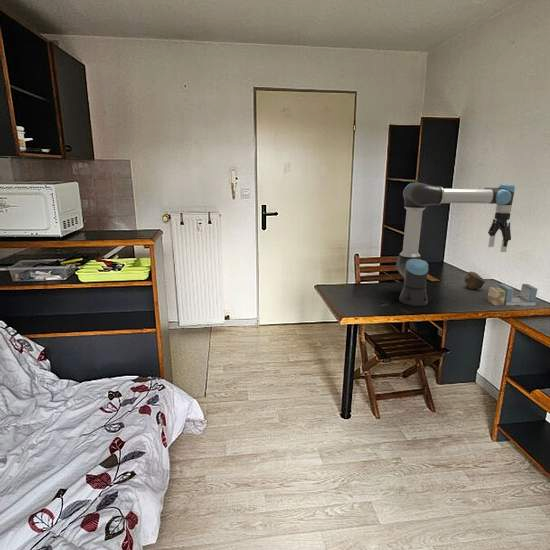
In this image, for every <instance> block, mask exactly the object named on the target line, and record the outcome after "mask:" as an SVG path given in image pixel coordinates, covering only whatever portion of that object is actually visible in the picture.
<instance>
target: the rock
mask: <svg viewBox="0 0 550 550" xmlns="http://www.w3.org/2000/svg"><path fill="white" fill-rule="evenodd" d="M464 282H465V284H466V285H465V287H466V289H470V290H479V289H482V287H483V286H484V284H485V282H486V281H485V280H484V278H482V276H481V275H479V274H478V273H476V272H474V271H468V272H467V275H466V276H465V278H464Z"/></svg>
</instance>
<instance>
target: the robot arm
mask: <svg viewBox="0 0 550 550" xmlns="http://www.w3.org/2000/svg"><path fill="white" fill-rule="evenodd" d="M515 187H516V185H514V184H513V183H500V184H499V185H498V187H484V186H483V187H479V188H478V187H477V188H448V187H445V188H443V187H442V186H441V185H440V186H439V185H437V186H436V185H432V184H431V185H430V184H427V183H421V182H410V183H409V184H407V186H405V188H403V192H402V196H403V200H404V205H403V206H404V207H403V208H404V209H405V210H406V215H405V223H404V233H403V235H404V236H403V242H402V243H403V245H402V251H401V252H400V253H399V257H398V259H397V261H396V262H395V263H396V269H397V272H398V273H399V274H400V275H401V276H403V278H404V279H403V280H404V281H403V288H402V290H401V292H400V295H399V296H398V298H399V299H398V300H399V302H401V304H404V305H407V306H412V307H421V306H426V305H428V301H429V300H428V295H427V282H428V281H427V280H428V273H429V263H428V262H427V261H426V260H422V259H421V254H420V253H419V247H420V246H419V245H420V240H421V239H420V238H421V230H422V219H423V212H424V210H425V209H426V208H427V206H440V205H441V204H485V205H486V204H490V205H492V204H493V205H494V204H495V211H496V212H495V213H494V219H492V223H491V225H490V227H489V230H488V232H487V234H488V235H489V239H488V241H489V242H488V248H494V246H495V239H496V234H497V233H498V231H499V230H500V233H501V235H502V240H501V245H500V253H507V249H508V242H509V241H512V233H511V222H510V221H509V220H510V218H511V212H512V208H513V207H512V206H513V201H514V196H515V192H516V191H515V190H516V188H515ZM508 221H509V222H508Z"/></svg>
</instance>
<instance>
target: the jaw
mask: <svg viewBox="0 0 550 550" xmlns="http://www.w3.org/2000/svg"><path fill="white" fill-rule="evenodd" d="M498 287H499V288H500V289H502V290H504V291H505V292H506V294H505V299H504V301H505V302H506V301H511V300H512V297H513V296H514V290H515V289H514V288H512V287H511V286H509V285H507V284H505V283H499V285H498Z"/></svg>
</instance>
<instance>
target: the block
mask: <svg viewBox="0 0 550 550" xmlns="http://www.w3.org/2000/svg"><path fill="white" fill-rule="evenodd" d="M487 293H488V294H487V300H488V301H487V302H489V303H490V302H491V303H490V304H492V303H493V304H494V305H493V304H492V305H493V306H505V304H504V299H505V294H506V292H505V291H504V290H502V289H500V288H499V286H498V287H497V286H494V287H493V286H490V287H489V288H488V292H487Z"/></svg>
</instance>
